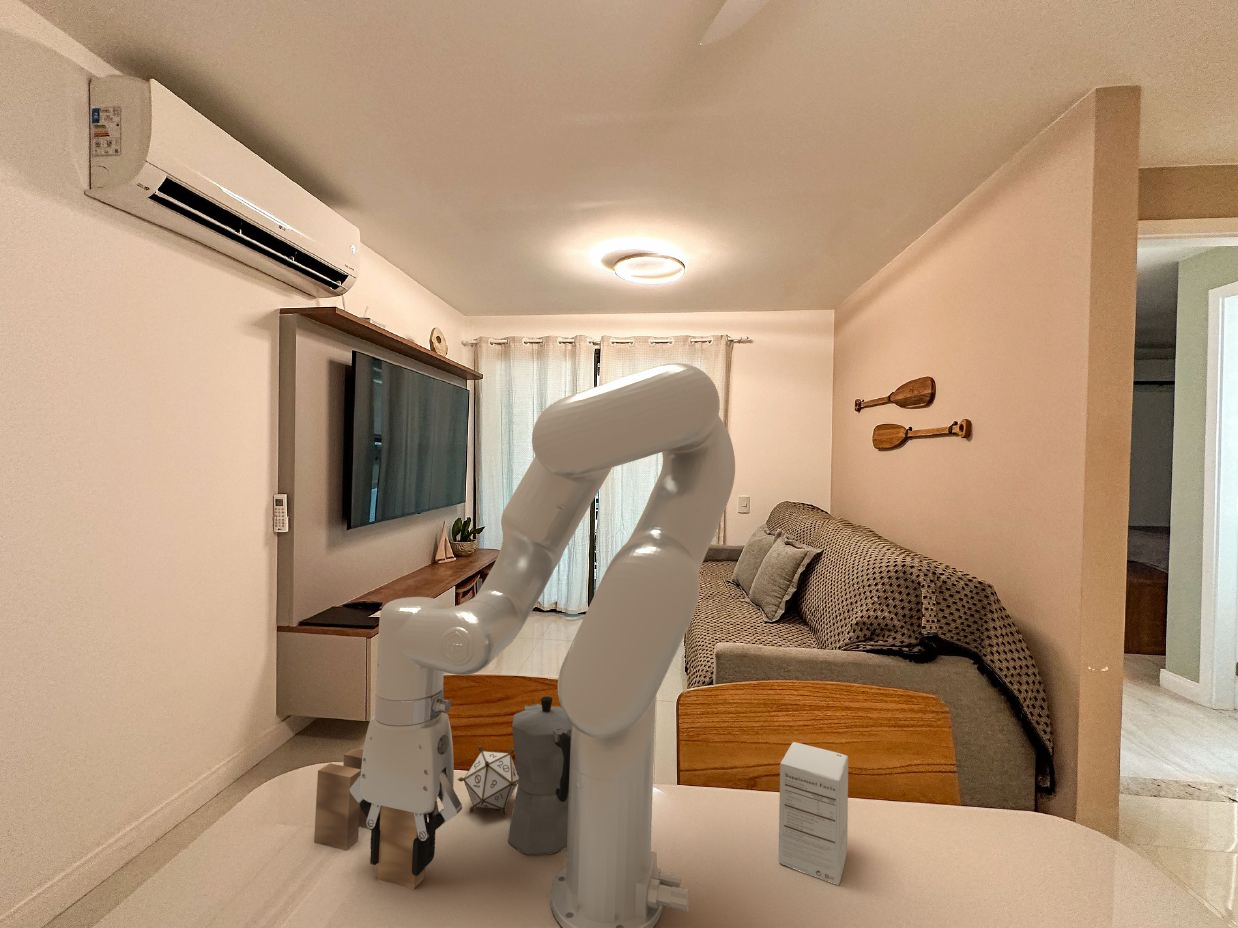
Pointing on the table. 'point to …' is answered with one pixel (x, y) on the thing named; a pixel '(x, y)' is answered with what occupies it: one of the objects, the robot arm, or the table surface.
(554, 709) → the coffeepot
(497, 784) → the game die
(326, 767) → the domino
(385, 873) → the domino
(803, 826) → the supplement box
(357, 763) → the domino
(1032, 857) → the table surface
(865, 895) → the table surface
